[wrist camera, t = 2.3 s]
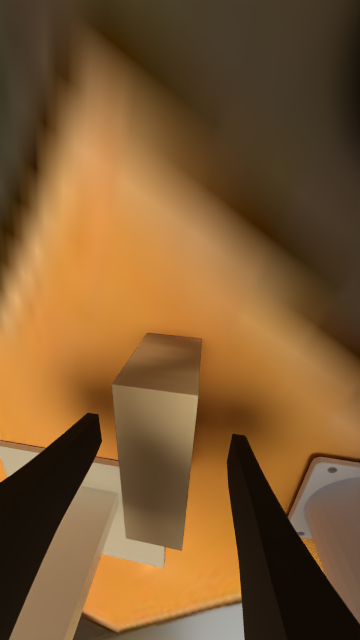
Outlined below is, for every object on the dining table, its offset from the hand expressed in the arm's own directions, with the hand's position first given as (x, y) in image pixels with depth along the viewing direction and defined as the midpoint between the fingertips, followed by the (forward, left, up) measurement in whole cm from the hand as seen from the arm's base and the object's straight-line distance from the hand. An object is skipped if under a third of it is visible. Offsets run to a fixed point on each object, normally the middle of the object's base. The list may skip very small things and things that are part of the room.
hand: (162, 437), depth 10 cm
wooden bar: (0, 0, -2) cm, 2 cm away
